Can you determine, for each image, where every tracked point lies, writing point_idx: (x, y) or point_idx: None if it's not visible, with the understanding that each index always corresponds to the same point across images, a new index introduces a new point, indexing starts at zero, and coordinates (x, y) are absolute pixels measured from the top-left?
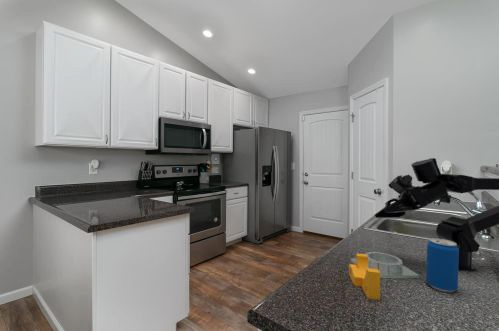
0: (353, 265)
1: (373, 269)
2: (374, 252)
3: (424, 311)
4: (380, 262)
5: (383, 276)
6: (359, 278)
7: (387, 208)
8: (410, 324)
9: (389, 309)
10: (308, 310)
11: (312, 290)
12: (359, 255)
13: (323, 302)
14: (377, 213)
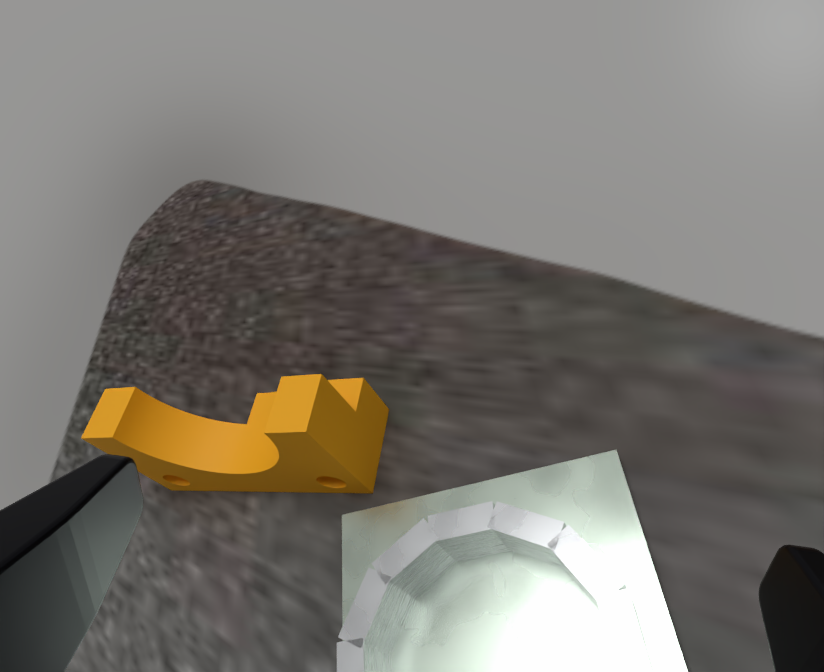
0: (344, 396)
1: (115, 416)
2: (630, 638)
3: None
4: (379, 587)
5: (346, 600)
6: (251, 415)
7: (63, 489)
8: None
9: None
10: (167, 271)
11: (260, 271)
12: (287, 387)
13: (192, 303)
14: (820, 605)
